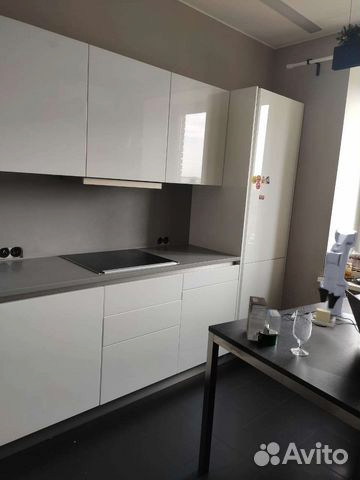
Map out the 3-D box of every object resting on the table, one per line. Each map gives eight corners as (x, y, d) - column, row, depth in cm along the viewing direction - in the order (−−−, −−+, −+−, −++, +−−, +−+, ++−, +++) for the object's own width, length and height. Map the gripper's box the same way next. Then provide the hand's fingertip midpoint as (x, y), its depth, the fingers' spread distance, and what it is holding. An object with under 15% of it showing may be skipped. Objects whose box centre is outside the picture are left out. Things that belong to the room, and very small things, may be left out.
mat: (294, 312, 184) (294, 311, 184) (312, 316, 180) (313, 316, 180) (290, 317, 176) (290, 317, 176) (309, 322, 172) (309, 321, 172)
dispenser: (312, 317, 179) (313, 311, 178) (335, 322, 174) (336, 317, 173) (309, 321, 173) (310, 315, 173) (333, 327, 168) (334, 321, 167)
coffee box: (245, 330, 157) (249, 295, 154) (260, 332, 157) (264, 297, 154) (247, 339, 148) (251, 302, 145) (262, 341, 148) (267, 304, 145)
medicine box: (279, 335, 155) (281, 316, 153) (269, 334, 155) (271, 315, 153) (274, 327, 162) (277, 309, 161) (265, 327, 163) (267, 309, 161)
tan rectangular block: (316, 319, 176) (317, 308, 175) (329, 322, 173) (330, 311, 172) (315, 321, 174) (316, 309, 173) (328, 324, 171) (330, 312, 170)
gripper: (315, 272, 172) (311, 299, 174) (330, 281, 158) (326, 311, 160) (329, 273, 172) (325, 300, 175) (345, 282, 158) (341, 311, 161)
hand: (326, 305), depth 168 cm, fingers open, 7 cm apart
